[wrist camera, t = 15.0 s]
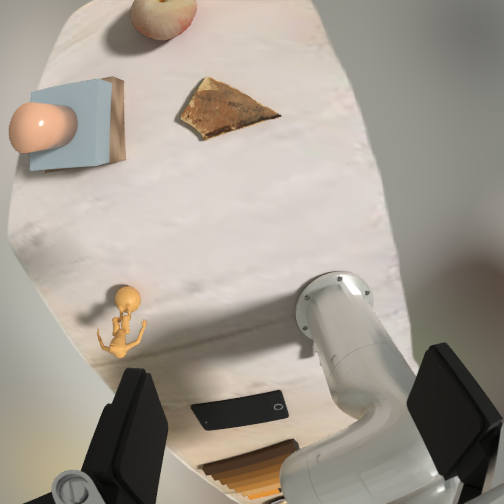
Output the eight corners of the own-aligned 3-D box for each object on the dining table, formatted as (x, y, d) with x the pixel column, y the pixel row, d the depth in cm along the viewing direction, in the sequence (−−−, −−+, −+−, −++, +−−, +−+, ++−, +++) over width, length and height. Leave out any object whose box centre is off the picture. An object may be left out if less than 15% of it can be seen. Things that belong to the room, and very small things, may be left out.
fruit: (213, 17, 31) (207, -7, 24) (167, 56, 33) (151, 40, 25) (174, -13, 29) (161, -38, 21) (130, 25, 31) (109, 6, 23)
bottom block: (126, 159, 38) (114, 162, 34) (61, 168, 38) (45, 172, 34) (125, 81, 34) (112, 76, 30) (58, 96, 34) (42, 94, 30)
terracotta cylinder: (77, 144, 29) (45, 149, 23) (44, 150, 29) (9, 156, 22) (78, 102, 27) (45, 97, 21) (44, 109, 27) (9, 108, 20)
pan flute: (292, 435, 61) (202, 462, 65) (293, 447, 57) (202, 473, 61) (329, 469, 69) (252, 492, 73) (331, 479, 66) (253, 501, 70)
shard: (280, 116, 37) (282, 115, 35) (249, 165, 39) (249, 166, 38) (208, 75, 35) (206, 73, 33) (177, 125, 37) (174, 124, 35)
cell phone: (288, 414, 57) (289, 417, 56) (205, 427, 58) (205, 431, 57) (280, 387, 54) (281, 391, 53) (190, 403, 55) (189, 406, 54)
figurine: (150, 275, 44) (124, 320, 33) (165, 309, 46) (146, 359, 35) (105, 287, 45) (73, 331, 33) (120, 319, 47) (95, 366, 36)
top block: (109, 162, 34) (95, 166, 30) (46, 166, 33) (29, 170, 30) (112, 83, 30) (98, 78, 27) (48, 94, 30) (31, 92, 26)
